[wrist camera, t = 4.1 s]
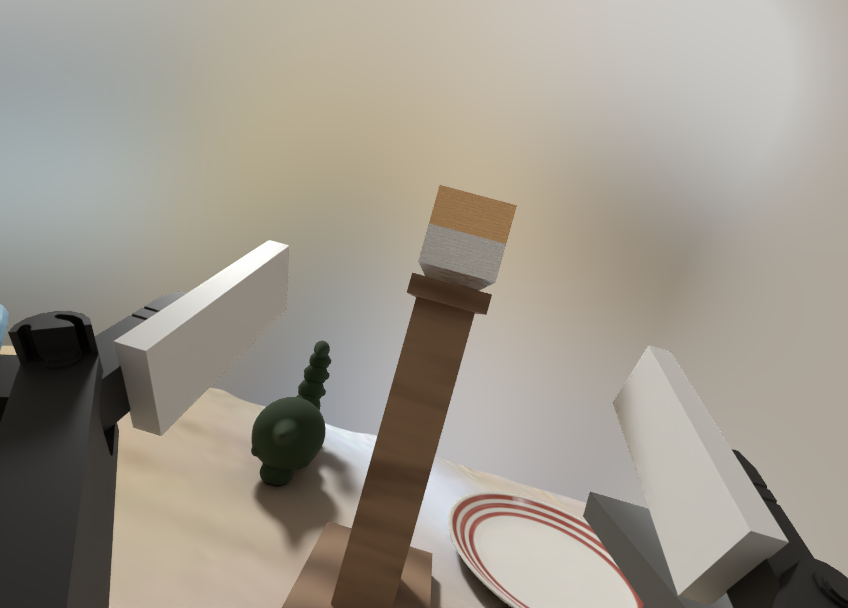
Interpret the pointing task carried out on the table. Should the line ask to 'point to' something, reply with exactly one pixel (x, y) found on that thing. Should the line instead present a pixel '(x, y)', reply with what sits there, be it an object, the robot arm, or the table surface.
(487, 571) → the dinner plate
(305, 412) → the dark green knobbed ball
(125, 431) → the table surface
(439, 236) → the brown and gray block
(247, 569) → the table surface
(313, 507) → the table surface
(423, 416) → the tall stand
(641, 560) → the low stand
